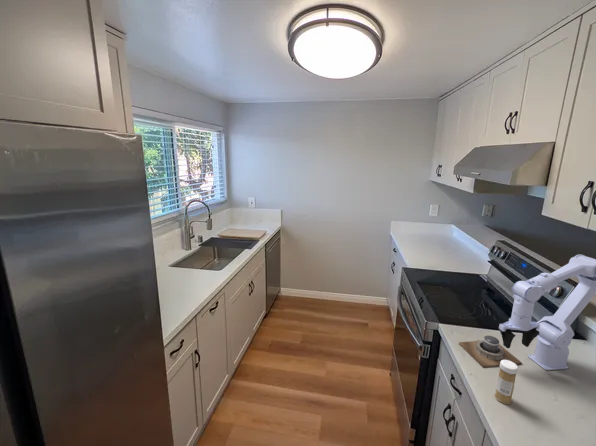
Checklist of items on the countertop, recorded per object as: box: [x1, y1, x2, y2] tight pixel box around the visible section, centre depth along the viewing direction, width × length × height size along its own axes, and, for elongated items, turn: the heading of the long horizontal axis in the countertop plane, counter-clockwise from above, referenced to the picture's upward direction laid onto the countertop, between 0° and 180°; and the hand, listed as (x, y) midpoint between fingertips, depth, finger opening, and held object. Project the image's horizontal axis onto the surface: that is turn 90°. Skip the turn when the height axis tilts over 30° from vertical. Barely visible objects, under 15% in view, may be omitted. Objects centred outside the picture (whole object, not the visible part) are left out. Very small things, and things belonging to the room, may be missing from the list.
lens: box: [483, 335, 500, 353], centre depth 113 cm, size 5×5×6 cm
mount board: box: [458, 339, 523, 368], centre depth 114 cm, size 16×14×3 cm
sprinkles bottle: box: [494, 360, 519, 405], centre depth 91 cm, size 5×5×14 cm
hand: (515, 346), depth 106 cm, fingers open, 7 cm apart
